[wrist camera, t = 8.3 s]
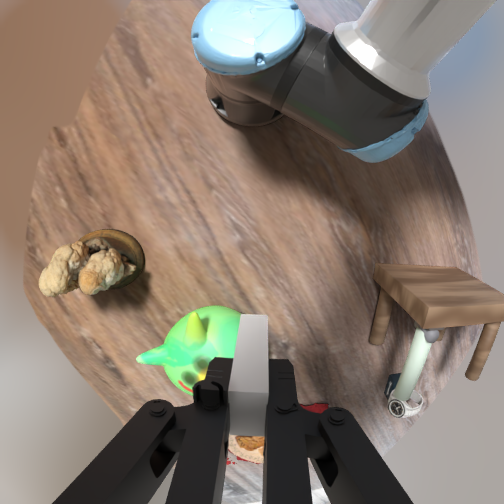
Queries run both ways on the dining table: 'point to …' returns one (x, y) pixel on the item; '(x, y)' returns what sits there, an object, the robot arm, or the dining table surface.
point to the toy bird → (195, 345)
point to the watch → (401, 407)
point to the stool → (439, 304)
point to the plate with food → (258, 441)
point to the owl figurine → (93, 264)
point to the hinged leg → (414, 362)
